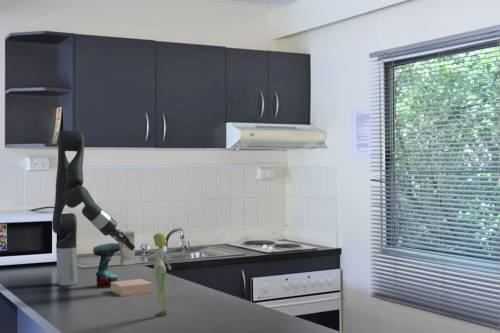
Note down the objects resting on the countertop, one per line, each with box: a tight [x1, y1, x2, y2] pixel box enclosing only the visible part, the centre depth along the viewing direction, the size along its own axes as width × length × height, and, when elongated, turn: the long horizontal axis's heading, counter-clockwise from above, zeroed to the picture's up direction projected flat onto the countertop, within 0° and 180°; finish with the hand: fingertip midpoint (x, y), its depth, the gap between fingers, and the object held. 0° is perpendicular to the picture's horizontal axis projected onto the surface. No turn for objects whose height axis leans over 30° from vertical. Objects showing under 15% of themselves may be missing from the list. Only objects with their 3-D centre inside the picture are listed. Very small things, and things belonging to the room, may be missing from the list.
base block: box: [110, 278, 153, 297], centre depth 304 cm, size 14×14×4 cm
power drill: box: [92, 242, 120, 288], centre depth 319 cm, size 7×16×20 cm, turn 78°
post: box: [119, 230, 136, 266], centre depth 303 cm, size 5×5×14 cm
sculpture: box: [150, 232, 172, 317], centre depth 256 cm, size 13×5×30 cm, turn 157°
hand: (131, 248), depth 304 cm, fingers closed on post, 5 cm apart
